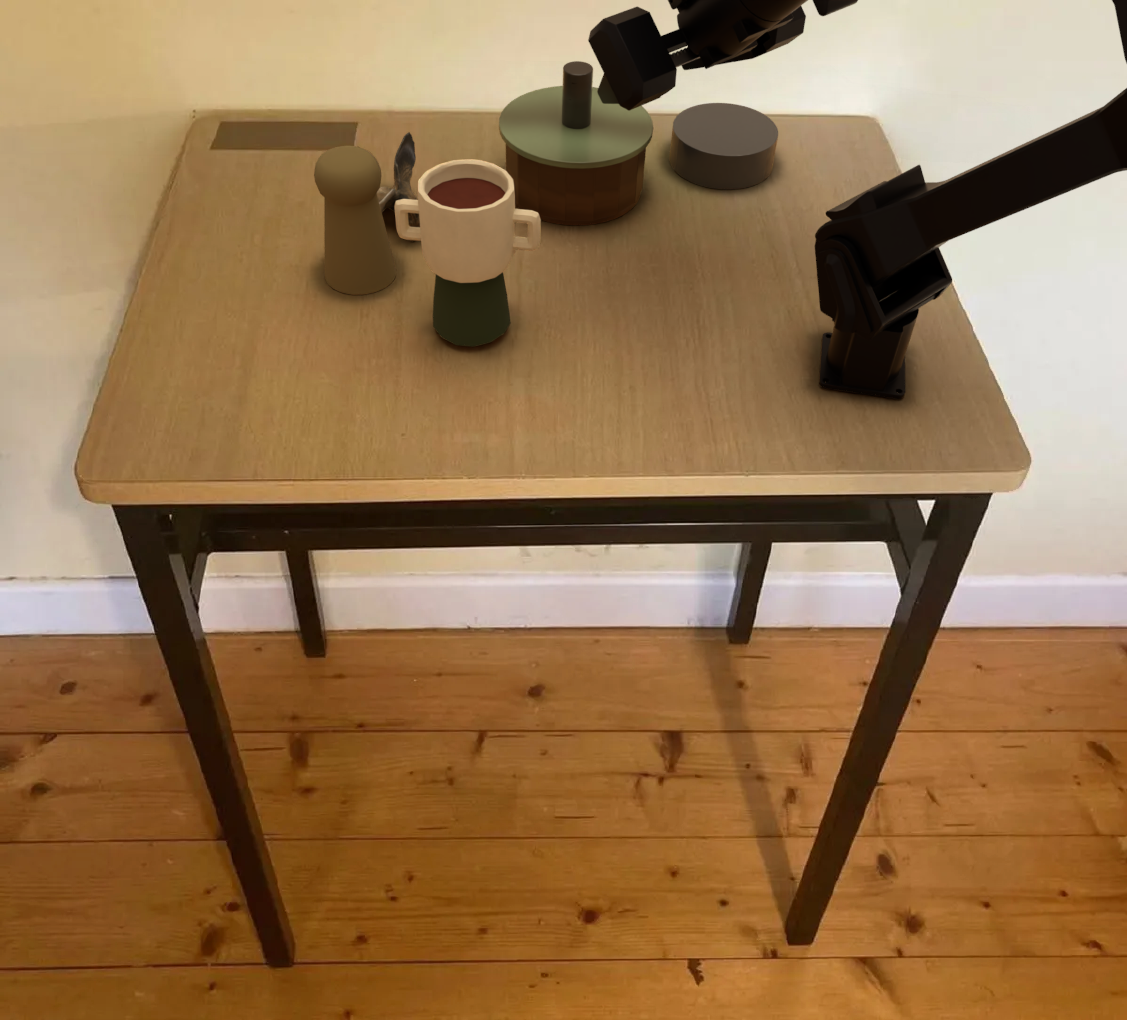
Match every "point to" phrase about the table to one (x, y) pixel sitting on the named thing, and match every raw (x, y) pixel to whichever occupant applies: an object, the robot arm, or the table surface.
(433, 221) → the character mug
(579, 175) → the brown round pot
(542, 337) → the table surface
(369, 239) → the brown pawn
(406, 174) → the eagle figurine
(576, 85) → the lid
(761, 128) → the disc
